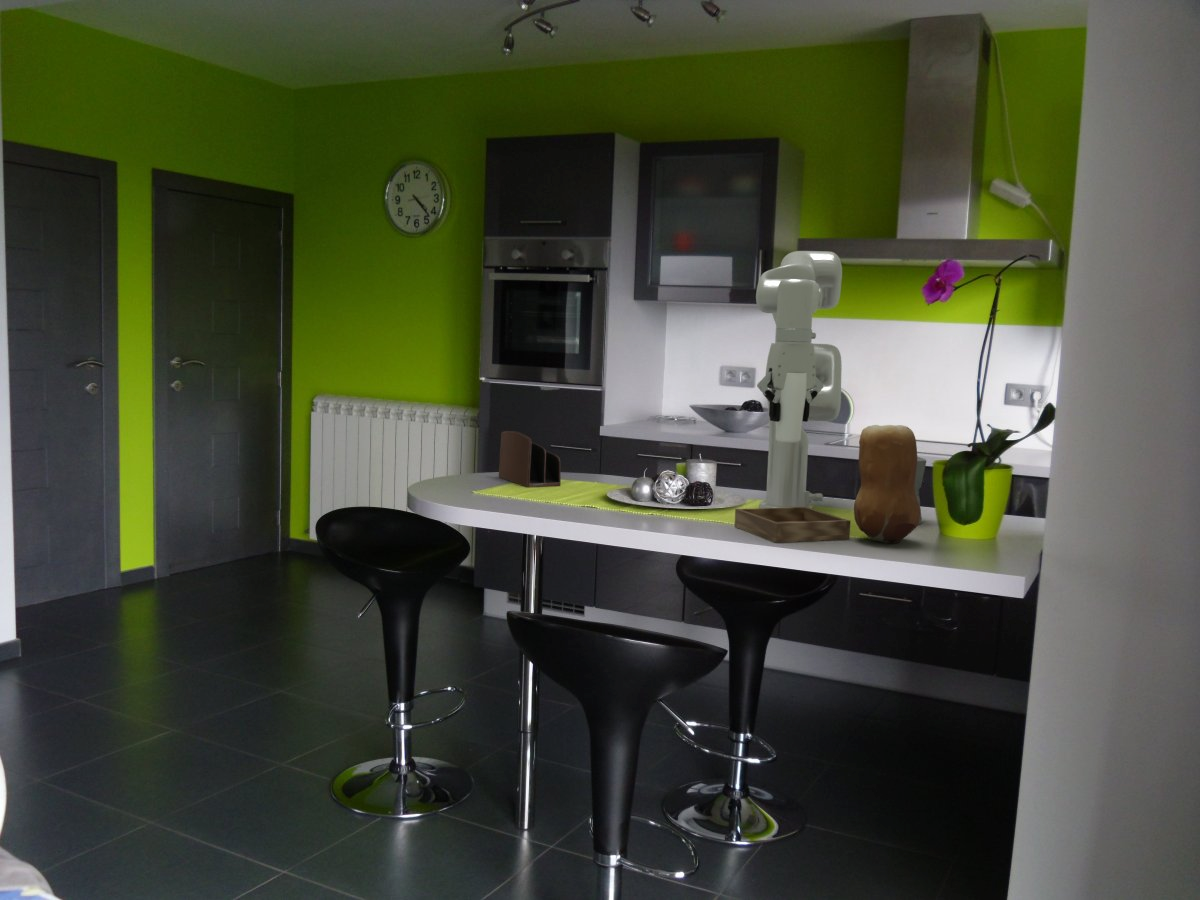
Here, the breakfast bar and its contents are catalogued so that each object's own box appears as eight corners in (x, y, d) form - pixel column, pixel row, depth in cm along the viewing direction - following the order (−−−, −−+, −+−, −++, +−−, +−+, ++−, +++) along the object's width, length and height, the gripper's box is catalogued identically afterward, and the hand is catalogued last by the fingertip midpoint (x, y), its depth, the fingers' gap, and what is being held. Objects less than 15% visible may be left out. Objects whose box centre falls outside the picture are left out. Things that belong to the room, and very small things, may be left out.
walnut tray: (804, 523, 248) (805, 506, 247) (849, 539, 231) (850, 520, 231) (734, 526, 241) (735, 509, 241) (775, 542, 225) (776, 523, 224)
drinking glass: (803, 444, 231) (806, 373, 229) (770, 442, 232) (774, 372, 230) (804, 441, 237) (808, 372, 235) (773, 439, 239) (776, 371, 237)
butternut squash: (872, 533, 239) (879, 420, 236) (929, 543, 230) (937, 425, 227) (839, 540, 229) (846, 422, 226) (896, 551, 220) (904, 428, 217)
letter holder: (527, 488, 289) (528, 435, 287) (498, 478, 306) (499, 428, 304) (561, 486, 293) (562, 434, 292) (530, 476, 311) (531, 427, 309)
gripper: (819, 338, 238) (814, 419, 240) (748, 335, 233) (744, 419, 235) (837, 338, 231) (832, 422, 233) (765, 336, 226) (761, 422, 228)
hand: (788, 420), depth 234 cm, fingers closed on drinking glass, 6 cm apart
